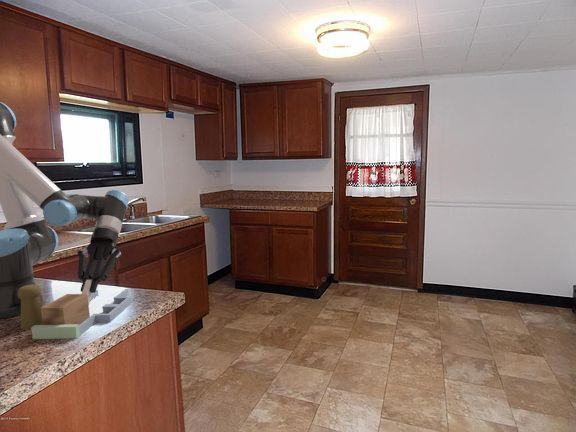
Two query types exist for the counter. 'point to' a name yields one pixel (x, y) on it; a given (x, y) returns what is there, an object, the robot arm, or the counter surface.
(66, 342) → the counter surface
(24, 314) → the cork
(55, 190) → the robot arm
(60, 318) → the walnut block
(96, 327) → the counter surface
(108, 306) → the trap lane
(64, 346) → the counter surface
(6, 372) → the counter surface
